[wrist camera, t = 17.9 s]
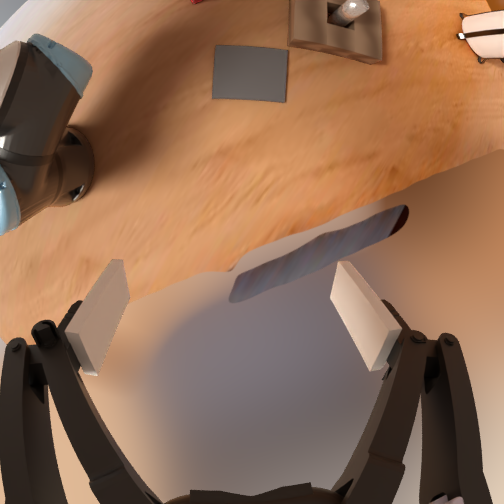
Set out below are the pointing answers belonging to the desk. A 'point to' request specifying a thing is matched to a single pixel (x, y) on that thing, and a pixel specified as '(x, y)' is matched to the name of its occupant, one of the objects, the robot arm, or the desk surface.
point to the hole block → (336, 30)
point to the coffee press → (485, 34)
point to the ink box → (195, 1)
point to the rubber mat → (249, 73)
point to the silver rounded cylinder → (348, 12)
